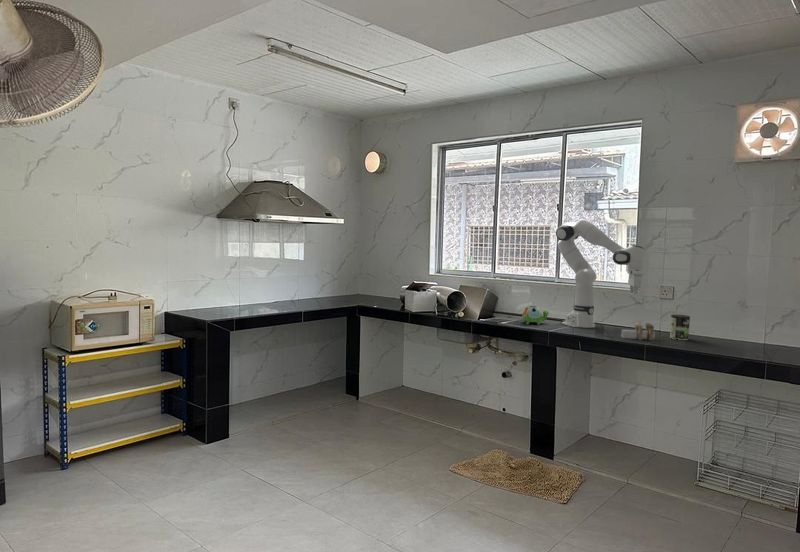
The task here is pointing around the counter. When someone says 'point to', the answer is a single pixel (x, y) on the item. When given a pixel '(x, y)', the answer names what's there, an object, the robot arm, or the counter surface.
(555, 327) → the counter surface
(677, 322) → the coffee can
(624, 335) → the tube
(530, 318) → the turtle holder
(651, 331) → the collar
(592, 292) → the robot arm
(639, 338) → the collar
